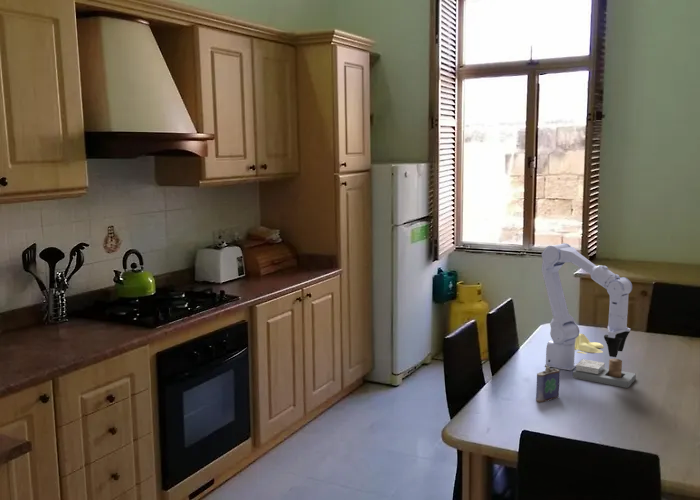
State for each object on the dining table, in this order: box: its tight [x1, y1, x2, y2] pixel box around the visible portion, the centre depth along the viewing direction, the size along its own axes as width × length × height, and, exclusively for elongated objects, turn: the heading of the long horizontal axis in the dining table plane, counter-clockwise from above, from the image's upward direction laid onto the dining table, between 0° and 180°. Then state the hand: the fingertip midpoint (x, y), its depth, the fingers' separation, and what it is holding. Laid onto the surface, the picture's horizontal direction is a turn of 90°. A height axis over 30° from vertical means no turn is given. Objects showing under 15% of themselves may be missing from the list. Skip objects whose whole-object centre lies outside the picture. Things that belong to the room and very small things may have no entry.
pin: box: [608, 358, 623, 378], centre depth 226 cm, size 4×4×7 cm
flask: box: [535, 365, 561, 403], centre depth 210 cm, size 9×3×11 cm, turn 121°
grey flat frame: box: [572, 367, 637, 389], centre depth 229 cm, size 18×10×2 cm, turn 54°
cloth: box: [575, 333, 604, 355], centre depth 263 cm, size 22×19×6 cm
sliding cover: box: [575, 358, 606, 374], centre depth 231 cm, size 8×8×2 cm
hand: (616, 353), depth 225 cm, fingers open, 7 cm apart
